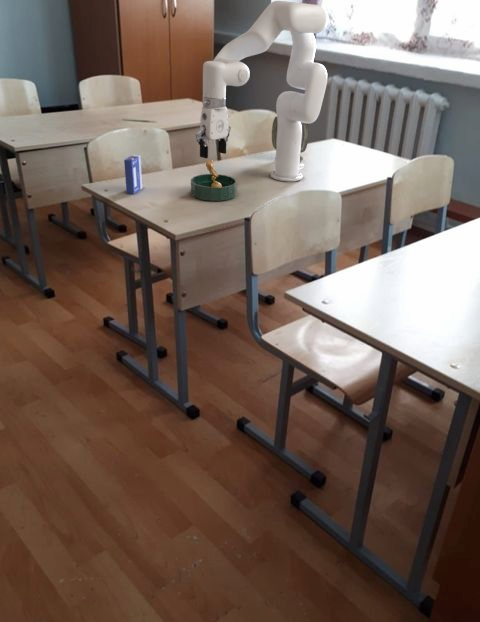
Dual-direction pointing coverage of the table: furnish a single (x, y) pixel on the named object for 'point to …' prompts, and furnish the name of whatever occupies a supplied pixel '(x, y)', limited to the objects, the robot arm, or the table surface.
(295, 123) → the robot arm
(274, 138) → the tabletop clock
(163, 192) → the table surface
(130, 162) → the walkman
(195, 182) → the bowl
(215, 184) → the figurine
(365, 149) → the table surface
